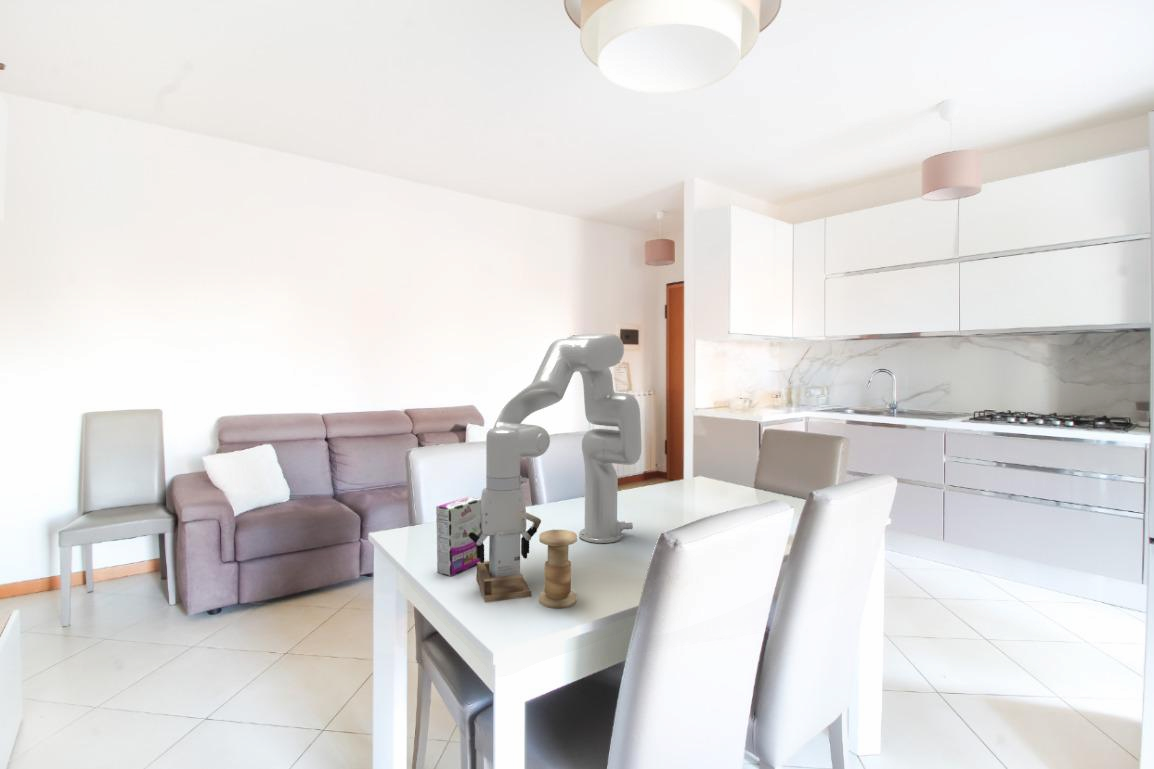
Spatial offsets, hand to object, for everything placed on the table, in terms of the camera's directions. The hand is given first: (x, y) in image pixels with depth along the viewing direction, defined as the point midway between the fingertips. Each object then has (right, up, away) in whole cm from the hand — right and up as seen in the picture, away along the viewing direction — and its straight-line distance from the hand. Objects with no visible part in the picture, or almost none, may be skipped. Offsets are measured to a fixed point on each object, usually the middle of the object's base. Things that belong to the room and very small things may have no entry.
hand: (503, 558), depth 124 cm
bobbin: (+13, -7, -6) cm, 16 cm away
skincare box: (0, -5, 0) cm, 5 cm away
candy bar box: (-12, -6, +12) cm, 18 cm away
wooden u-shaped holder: (0, -7, 0) cm, 7 cm away
